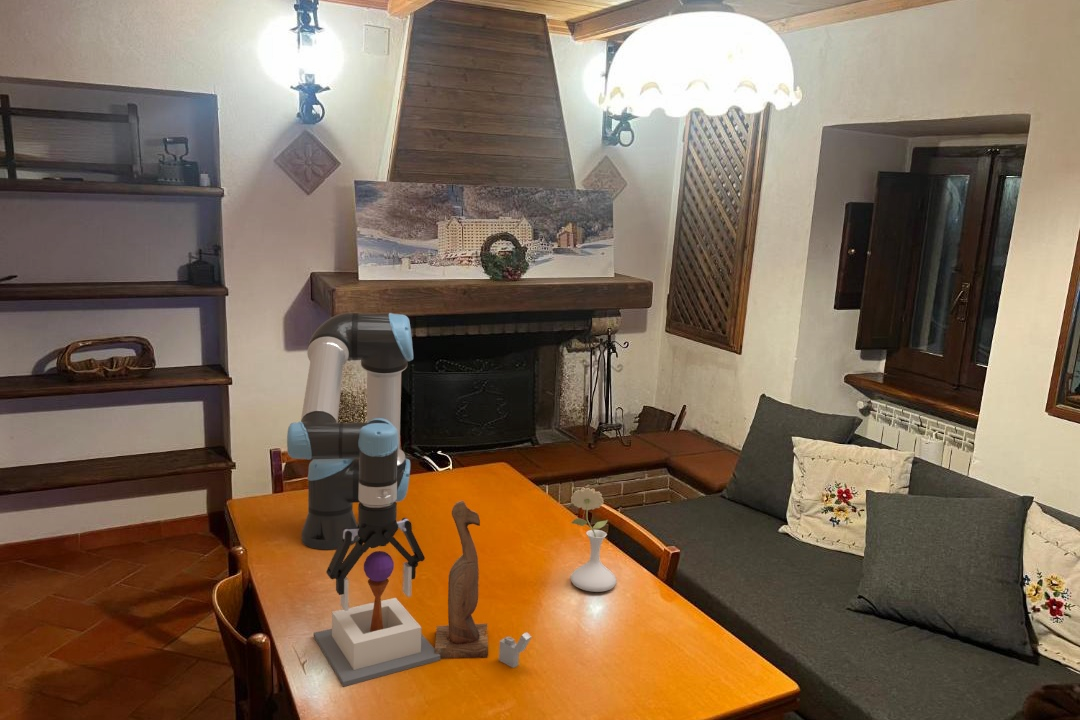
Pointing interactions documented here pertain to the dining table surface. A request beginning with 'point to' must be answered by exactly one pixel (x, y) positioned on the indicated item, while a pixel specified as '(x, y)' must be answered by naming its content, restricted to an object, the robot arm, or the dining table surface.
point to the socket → (374, 643)
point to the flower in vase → (592, 546)
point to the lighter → (512, 649)
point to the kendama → (378, 582)
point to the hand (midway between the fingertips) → (376, 600)
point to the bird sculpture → (463, 597)
